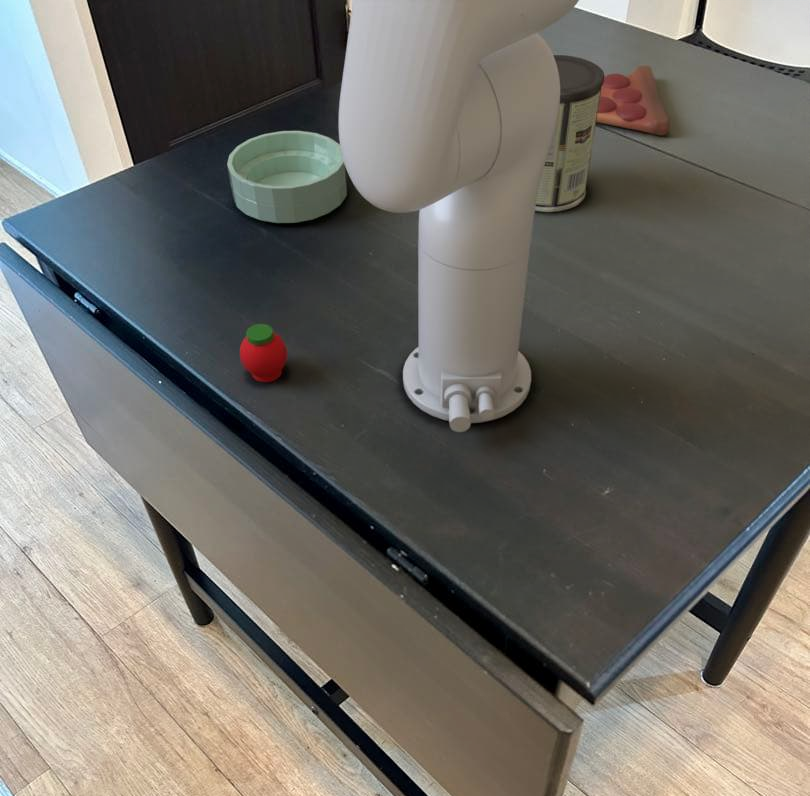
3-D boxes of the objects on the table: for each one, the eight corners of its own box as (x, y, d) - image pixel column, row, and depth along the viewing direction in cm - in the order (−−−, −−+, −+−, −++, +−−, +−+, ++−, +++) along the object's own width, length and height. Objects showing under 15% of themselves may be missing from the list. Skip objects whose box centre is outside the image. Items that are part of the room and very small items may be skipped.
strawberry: (288, 387, 82) (281, 346, 78) (241, 388, 82) (232, 347, 78) (291, 357, 85) (285, 316, 81) (246, 358, 85) (238, 317, 81)
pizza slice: (672, 121, 111) (522, 121, 112) (668, 138, 113) (520, 138, 114) (651, 63, 123) (516, 64, 124) (648, 79, 125) (515, 80, 126)
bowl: (345, 226, 101) (342, 186, 97) (228, 228, 101) (220, 189, 97) (348, 167, 110) (346, 129, 106) (241, 170, 110) (234, 131, 106)
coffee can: (519, 164, 109) (530, 48, 98) (595, 180, 106) (615, 62, 95) (491, 202, 103) (499, 83, 92) (570, 220, 101) (589, 99, 90)
